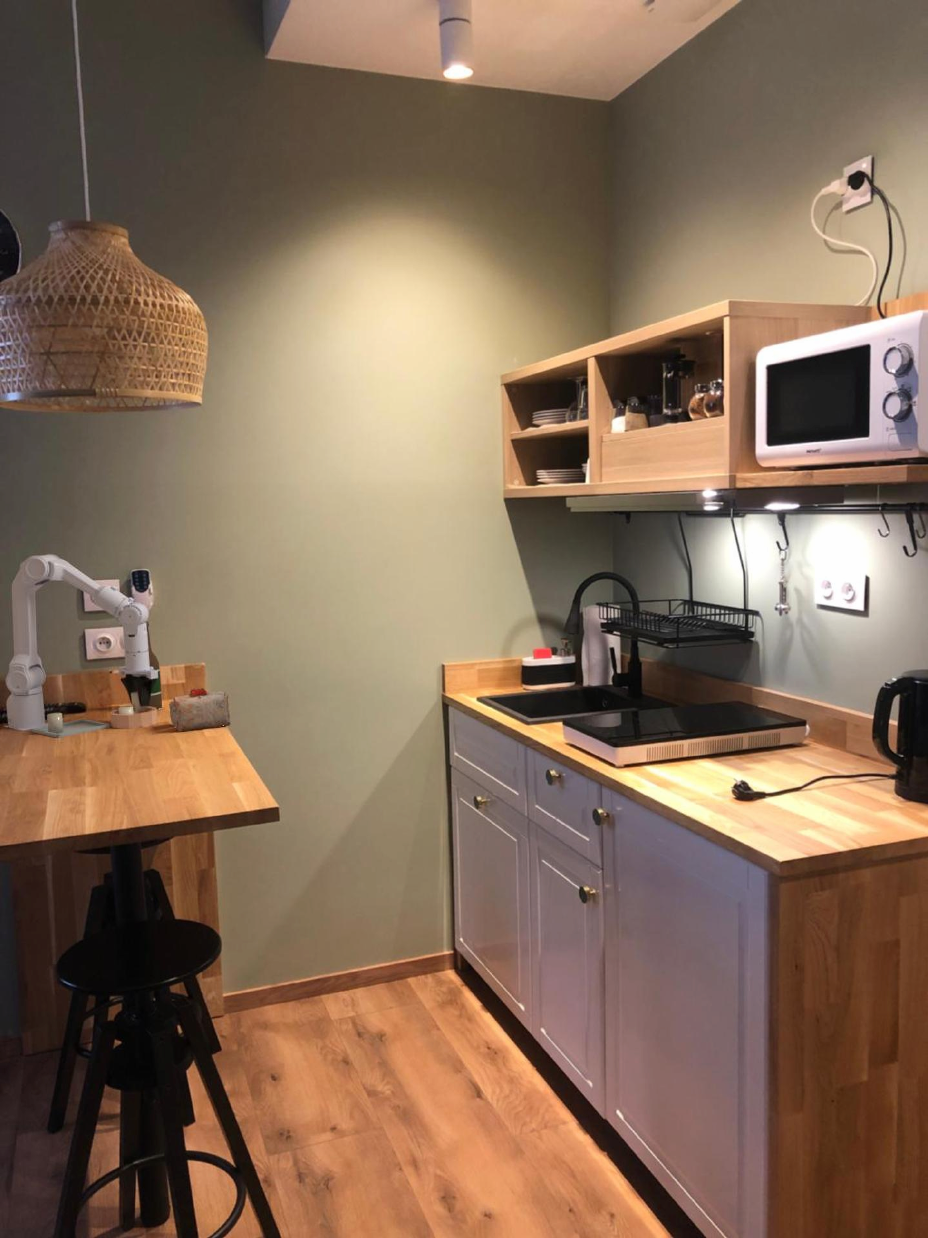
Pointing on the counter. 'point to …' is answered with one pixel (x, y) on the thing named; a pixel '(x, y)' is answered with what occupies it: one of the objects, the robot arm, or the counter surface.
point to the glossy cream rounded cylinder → (136, 702)
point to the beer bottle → (156, 691)
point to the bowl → (134, 718)
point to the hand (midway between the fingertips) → (140, 705)
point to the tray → (73, 728)
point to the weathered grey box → (200, 710)
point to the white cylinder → (55, 723)
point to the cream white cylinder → (126, 710)
